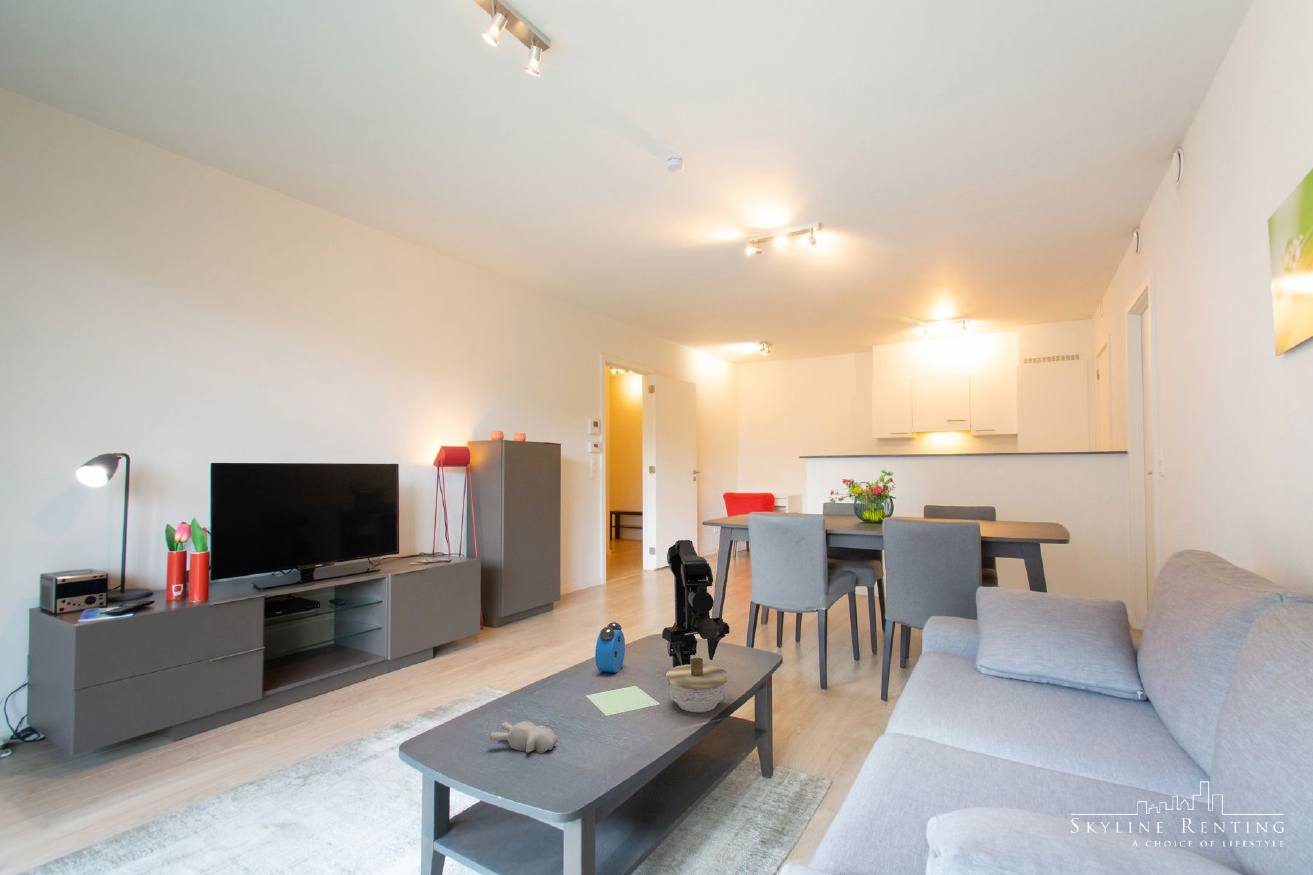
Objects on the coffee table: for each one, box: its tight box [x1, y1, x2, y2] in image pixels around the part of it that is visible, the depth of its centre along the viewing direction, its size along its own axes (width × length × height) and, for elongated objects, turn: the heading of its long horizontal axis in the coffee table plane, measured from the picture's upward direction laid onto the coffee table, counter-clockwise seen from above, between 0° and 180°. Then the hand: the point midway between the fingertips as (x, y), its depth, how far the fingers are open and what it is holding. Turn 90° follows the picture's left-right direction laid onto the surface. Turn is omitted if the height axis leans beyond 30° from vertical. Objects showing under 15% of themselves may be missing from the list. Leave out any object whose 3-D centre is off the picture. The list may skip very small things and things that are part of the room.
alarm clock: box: [594, 621, 626, 674], centre depth 194 cm, size 13×6×15 cm, turn 165°
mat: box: [585, 685, 661, 717], centre depth 168 cm, size 16×16×1 cm
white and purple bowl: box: [669, 683, 726, 713], centre depth 165 cm, size 15×15×8 cm
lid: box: [665, 657, 729, 689], centre depth 165 cm, size 17×17×5 cm
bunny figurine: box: [489, 720, 559, 754], centre depth 142 cm, size 10×5×15 cm
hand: (696, 662), depth 165 cm, fingers open, 9 cm apart
